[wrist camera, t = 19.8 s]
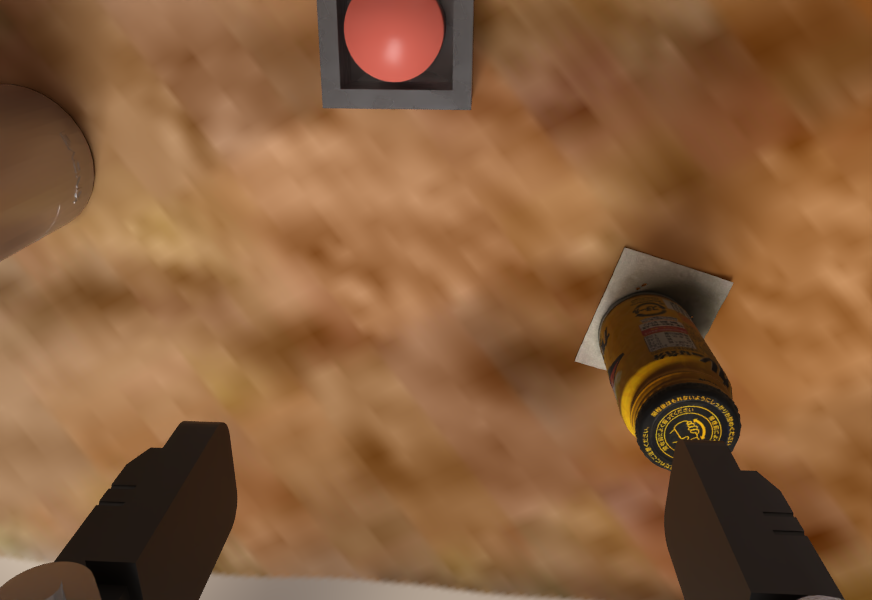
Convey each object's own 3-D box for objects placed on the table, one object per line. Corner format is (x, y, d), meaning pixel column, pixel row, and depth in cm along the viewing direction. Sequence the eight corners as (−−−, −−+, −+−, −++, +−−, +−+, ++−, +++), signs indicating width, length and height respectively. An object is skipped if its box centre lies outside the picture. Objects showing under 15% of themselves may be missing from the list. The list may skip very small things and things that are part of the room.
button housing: (336, 97, 43) (322, 108, 39) (328, -53, 40) (313, -57, 36) (471, 99, 43) (471, 109, 39) (475, -53, 40) (474, -57, 36)
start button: (358, 73, 42) (346, 81, 38) (354, -23, 40) (341, -24, 36) (445, 74, 41) (442, 82, 38) (446, -23, 39) (443, -24, 36)
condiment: (574, 359, 49) (601, 467, 38) (624, 246, 46) (669, 328, 35) (675, 390, 50) (730, 505, 39) (731, 280, 46) (810, 372, 35)
